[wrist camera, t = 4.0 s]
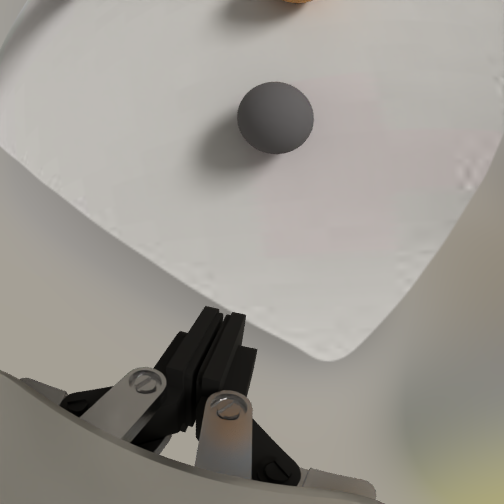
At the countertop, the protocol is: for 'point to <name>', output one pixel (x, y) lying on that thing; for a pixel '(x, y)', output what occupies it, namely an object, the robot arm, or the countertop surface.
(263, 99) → the dark gray ball
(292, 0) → the object ball
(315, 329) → the countertop surface
